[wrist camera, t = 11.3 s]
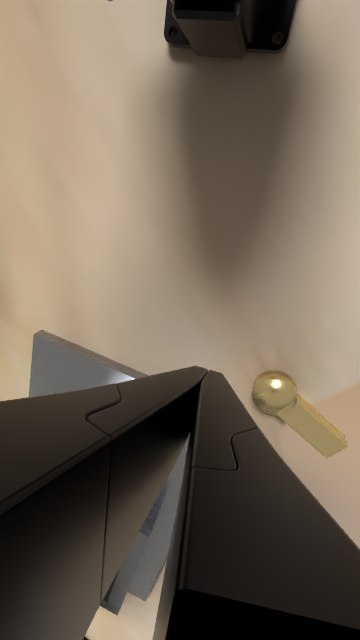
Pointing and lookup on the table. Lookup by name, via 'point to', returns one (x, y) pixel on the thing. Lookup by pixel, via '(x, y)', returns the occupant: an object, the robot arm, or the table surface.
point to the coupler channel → (155, 534)
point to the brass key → (296, 412)
